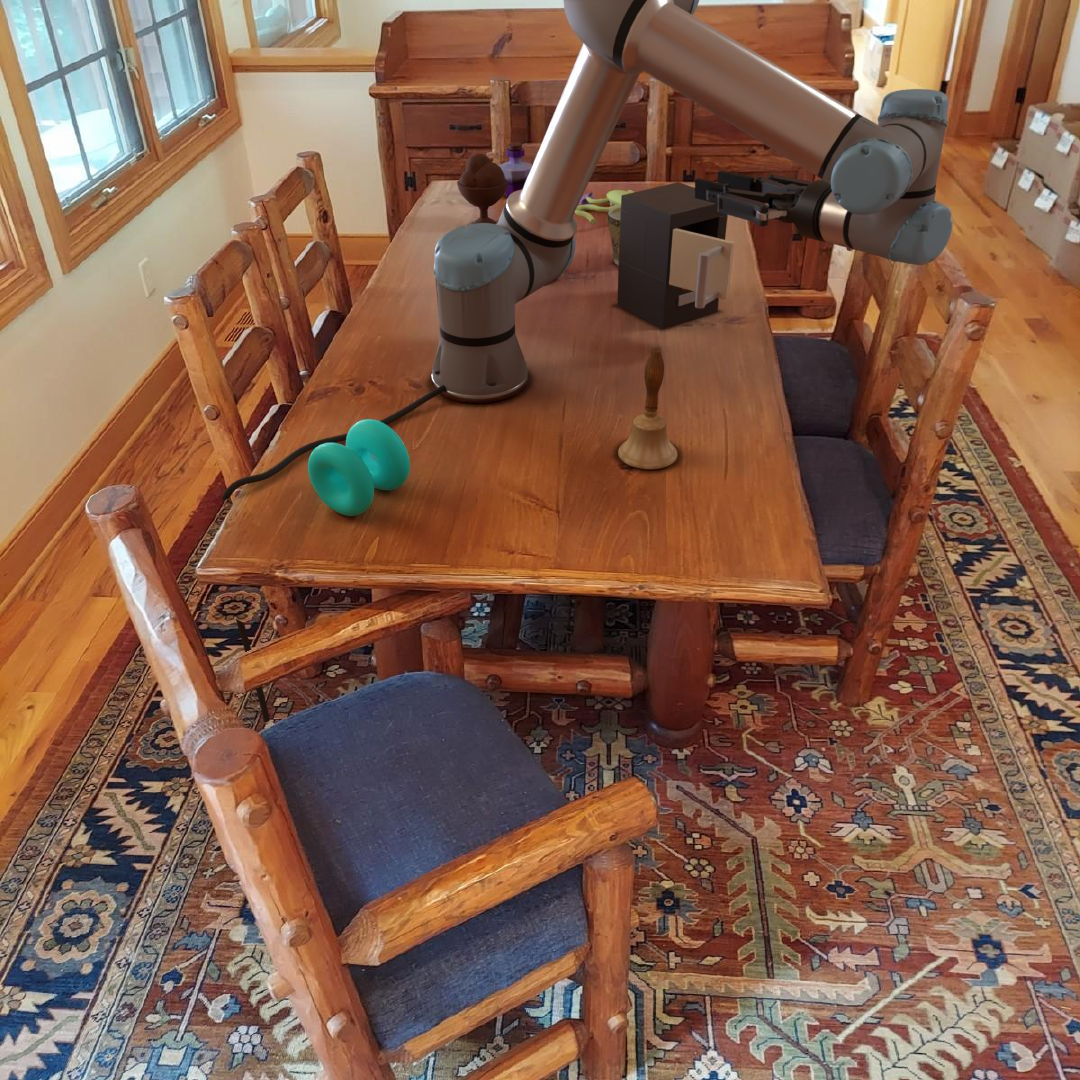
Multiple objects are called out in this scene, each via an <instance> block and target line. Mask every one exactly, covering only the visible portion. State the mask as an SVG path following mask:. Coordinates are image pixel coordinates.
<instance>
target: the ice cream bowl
mask: <svg viewBox="0 0 1080 1080" xmlns="http://www.w3.org/2000/svg"><path fill="white" fill-rule="evenodd" d="M498 165H499V164H497V163H496V162H493V161H491V159H490V158H489V156H487V155H486V154H485V153H479V152H477V153H474V154H472V155H470V156H469V157H468V159H467V160H466V163H465V171H463V172H462V173H461V175H460V177H459V180H457V182H456V184H457V189H458V191H459V193H460V195H461V196H462V197H463V198H464V200H466V201H467V203H469V204H470V205H472V206H474V207H476V208H478V210H479V217H478V218H477V219H476V220H474V221H473V222H472V223H471V224H475V223H490V224H497V221H495V220H494V219H493V218H491V217H489V212H488V210H489V208H490V207H492V206H494V205H496V204H497V203H498V202H499V201H500V200H501V199H502V198H503V197H504V195H506V193H505V192H506V190H507V185H508V181H507V180H506V179H505V176H504V173H503V171H502V169H501V167H500V166H498Z"/></svg>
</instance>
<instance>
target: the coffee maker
mask: <svg viewBox="0 0 1080 1080" xmlns="http://www.w3.org/2000/svg"><path fill="white" fill-rule="evenodd" d="M728 217H729V215H727V214H723V213H720V212H718V204H717V203H713V202H709V201H705V200H701V199H697V198H695V186H691V185H688V184H685V183H683V182H680V181H676V182H673V183H669V184H664V185H660V186H656V187H652V188H646V189H642V190H638V191H634V193H629V194H625V195H622V196H621V218H620V243H619V266H618V270H617V271H618V272H617V299H616V306H617V307H619V308H621V309H623V310H625V311H627V312H629V313H631V314H633V315H635V316H637V317H639V318H640V319H643V320H644V321H646V322H648V323H650V324H652V325H654V326H655V327H658V328H660V329H662V330H665V329H668V328H672V327H674V326H678V325H680V324H683V323H686V322H690V321H693V320H696V319H699V318H703V317H706V316H708V315H712V314H715V313H718V311H719V302H720V298H716V299H714V300H712V301H711V302H709V303H707V304H706V305H705V307H704V308H696V307H695V298H696V292H695V291H691V290H687V289H684V288H680V287H677V286H673V285H669V279H670V265H671V252H672V238H673V229H675V228H677V229H681V230H685V231H689V232H694V233H698V234H702V235H706V236H710V237H715V238H719V239H723V240H726V236H727V234H726V233H727V227H728Z"/></svg>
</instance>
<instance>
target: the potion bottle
mask: <svg viewBox="0 0 1080 1080" xmlns="http://www.w3.org/2000/svg"><path fill="white" fill-rule="evenodd" d="M505 152H506V157H507V158H509V161H505V162H503V163H501V164H500V163H499V164H497V165H498V166H500V167H501V169H502V171H503V173H504V176H505V179H506V180H507V181H508V185H507V190H506V192H505V194H504V195H505V198H506V199H508V197H509V195H510V194H511V193H513V192H515V191H518V190H522V189H523V187H524V185H525V182H526V180H527V177H528V175H529V173H530V170H531V168H532V165H533V163H530V162H526V161H523V160H522V159H523V157H525V156H526V155H525V149H524V147H523V145H522V142H510V143H508V148H506V149H505Z"/></svg>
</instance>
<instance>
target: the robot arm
mask: <svg viewBox="0 0 1080 1080" xmlns="http://www.w3.org/2000/svg"><path fill="white" fill-rule="evenodd" d="M699 3H700V0H563V9H564V13H565V17H566V20H567V22H568V25H569V27H570V28H571V30H572V31H573V33H574V34H575V36H576V37H577V38H578V39H579V40H580V41H581V42H582V45H581V48H580V50H579V53H578V55H577V57H576V60H575V62H574V65H573V67H572V69H571V72H570V74H569V77H568V79H567V82H566V84H565V86H564V88H563V91H562V93H561V96H560V98H559V101H558V103H557V106H556V108H555V110H554V112H553V115H552V117H551V120H550V122H549V125H548V127H547V129H546V132H545V134H544V136H543V139H542V142H541V143H540V146H539V149H538V151H537V153H536V155H535V158H534V161H533V163H532V168H531V170H530V173H529V175H528V177H527V180H526V182H525V185H524V187H523V189H522V190H518V191H515V192H513V193H511V194H510V195H509V197H508V198H506V202H505V204H504V206H503V209H502V211H501V213H500V215H499V218H498V221H497V222H496V224H490V223H475V224H472V223H470V224H469V225H467V226H465V225H460V226H458V227H455V228H453V229H450V230H449V231H447V232H445V233H444V234H443V235H442V236H441V237H440V238H439V239H438V241H437V242H436V244H435V248H434V264H433V274H434V278H435V288H436V289H435V290H436V300H437V302H436V303H437V312H438V324H439V336H440V337H439V341H438V345H437V349H436V352H435V356H434V360H433V365H432V369H431V382H432V383H431V384H432V387H433V390H431V391H429V392H428V393H426V394H425V395H423V396H421V397H419V398H418V399H416V400H415V401H413V402H412V403H410V404H408V405H407V406H405V407H403V408H402V409H400V410H397V411H396V412H393V413H392V414H390V415H389V416H386V417H385V418H383V419H381V420H379V421H380V422H382V423H384V424H386V425H387V426H388V425H389V424H391V423H393V422H395V421H397V420H398V419H401V418H402V417H404V416H406V415H407V414H409V413H410V412H413V411H414V410H415V409H417V408H419V407H420V406H422V405H424V404H426V403H427V402H429V401H430V400H432V399H434V398H436V397H437V396H439V395H440V396H442V397H444V398H447V399H449V400H451V401H455V402H460V403H467V404H485V403H494V402H498V401H502V400H506V399H509V398H512V397H514V396H515V395H517V394H520V393H521V392H522V391H523V390H524V389H525V388H526V387H527V385H528V382H529V370H528V364H527V362H526V360H525V357H524V356H525V355H524V354H523V353H524V352H523V351H522V348H521V345H520V343H519V340H518V337H517V334H516V308H515V307H516V304H518V303H520V302H521V301H522V300H524V299H526V298H527V297H530V295H532V294H533V293H535V292H537V291H538V290H540V289H542V288H543V287H547V286H548V285H550V284H552V283H554V282H555V281H556V280H557V279H558V278H560V277H561V276H562V275H563V274H564V273H565V272H566V271H567V270H568V267H570V265H571V264H572V262H573V258H574V256H575V252H576V239H574V237H575V236H576V233H577V230H578V223H577V220H576V218H575V216H574V214H575V210H576V208H577V206H579V205H580V204H579V202H580V199H581V198H582V197H583V196H584V194H585V191H586V189H587V187H588V185H589V182H590V180H591V179H592V176H593V174H594V172H595V170H596V167H597V166H598V163H599V161H600V160H601V158H602V155H603V153H604V151H605V149H606V146H607V145H608V143H609V140H610V138H611V136H612V135H613V132H614V130H615V127H616V125H617V123H618V122H619V120H620V117H621V115H622V113H623V111H624V109H625V107H626V105H627V102H628V101H629V98H630V96H631V94H632V92H633V90H634V88H635V86H636V84H637V81H638V80H639V77H640V75H641V74H642V73H646V74H647V75H649V76H651V77H653V78H654V79H656V80H657V81H659V82H661V83H662V84H664V85H666V86H667V87H668V88H671V89H672V90H674V91H675V92H678V93H679V94H681V95H682V96H684V97H685V98H687V99H689V100H690V101H691V102H693V103H695V104H697V105H699V106H700V107H702V108H704V109H705V110H707V111H709V112H710V113H712V114H714V115H715V116H717V117H718V118H720V119H722V120H724V121H725V122H727V123H728V124H730V125H732V126H733V127H735V128H737V130H740V131H742V132H743V133H745V134H747V135H748V136H750V137H751V138H753V139H754V140H756V141H758V142H760V143H761V144H763V145H765V146H766V147H768V148H770V149H771V150H773V151H774V152H776V153H778V155H779V154H780V155H781V156H783V157H784V158H786V159H787V160H790V161H791V162H793V163H794V164H796V165H797V166H799V167H801V168H802V169H804V170H806V171H807V172H809V173H811V174H812V175H814V176H816V177H817V178H819V179H816V180H814V181H811V180H810V181H809V180H804V179H800V178H795V177H789V176H784V175H778V174H773V173H772V174H769V175H767V178H766V177H764V176H758V177H754V176H749V175H745V174H741V173H740V174H739V173H736V172H735V173H734V172H731V171H726V170H722V169H721V170H719V171H717V181H713V180H708V179H704V178H700V177H698V178H695V179H694V188H695V198H697V199H701V200H705V201H709V202H713V203H717V204H718V212H720V213H723V214H727V215H728V216H731V217H733V218H734V217H735V218H738V219H741V220H745V221H749V222H753V223H754V224H756V225H757V226H759V227H767V226H768V225H769V220H776V221H777V220H778V221H780V222H781V223H785V224H786V223H787V224H793V225H794V227H795V229H796V230H797V232H798V233H799V235H801V236H802V237H804V238H807V239H810V240H814V241H818V242H822V243H825V242H826V243H828V244H831V245H836V246H839V247H844V248H845V249H846V251H848V252H851V251H859V252H863V253H866V254H870V255H873V256H876V257H880V258H884V259H887V260H889V261H891V262H895V263H902V264H908V265H915V266H924V265H928V264H930V263H932V262H933V261H935V260H936V259H937V258H938V257H939V256H940V255H941V254H942V252H943V251H944V250H945V248H946V247H947V245H948V244H949V243H948V242H949V240H950V238H951V235H952V230H953V219H952V211H951V209H950V208H949V207H948V206H947V204H946V205H945V204H943V203H941V202H940V201H937V200H936V199H935V198H936V193H937V190H936V188H937V181H938V175H939V174H938V173H939V169H940V162H941V158H942V157H941V156H942V151H943V146H944V140H945V134H946V130H947V129H946V128H948V125H949V123H948V112H949V111H948V110H949V103H950V101H949V98H948V95H946V93H944V92H943V91H939V90H935V89H928V88H910V89H909V88H907V89H899V90H895V91H891V92H889V93H887V94H886V95H885V96H884V97H883V98H882V101H881V106H880V110H879V115H878V117H877V123H876V122H874V121H873V120H871V119H869V118H867V117H865V116H863V115H861V114H860V113H859V112H858V111H856V110H854V109H852V108H851V107H849V106H847V105H845V104H844V103H842V102H841V101H839V100H837V99H835V98H833V97H832V96H830V95H829V94H827V93H825V92H823V91H822V90H820V89H819V88H817V87H815V86H813V85H812V84H810V83H809V82H807V81H805V80H803V79H801V78H800V77H799V76H796V75H794V74H793V73H791V72H790V71H788V70H786V69H785V68H783V67H781V66H779V65H778V64H776V63H775V62H773V61H771V60H769V59H768V58H766V57H765V56H763V55H761V54H759V53H757V51H754V50H753V49H751V48H750V47H747V46H746V45H744V44H742V43H741V42H739V41H738V40H735V39H734V38H732V37H730V36H728V35H727V34H725V33H723V31H720V30H719V29H717V28H715V27H714V26H712V25H710V24H709V23H707V22H705V21H703V20H702V19H700V18H699V17H696V16H695V15H694V14H695V12H696V10H697V8H698V6H699ZM347 434H348V432H347V433H343V434H338V435H334V436H330V437H326V438H321V439H318V440H315V441H312V442H309V443H307V444H305V445H302V446H300V447H299V448H297V449H295V450H293V451H292V452H290V453H289V454H288V455H287V456H285V457H284V458H283V459H281V461H280V462H278V463H277V464H276V465H274V466H273V467H271V468H269V469H268V470H266V471H264V472H261V473H258V474H253V475H249V476H244V477H242V478H241V477H240V478H239V479H237V480H235V481H233V482H232V483H231V484H230V485H228V487H227V488H226V489H225V491H224V492H223V493H222V496H221V500H222V501H226V500H229V499H230V498H231V497H232V495H233V494H234V492H235V491H236V490H238V489H239V488H240V487H243V486H245V485H249V484H253V483H259V482H262V481H264V480H267V479H270V478H271V477H273V476H275V475H277V474H278V473H280V472H281V471H282V470H284V469H285V468H286V467H287V466H288V465H290V464H291V463H292V462H293V461H295V460H296V459H297V458H299V457H300V456H302V455H304V454H306V453H307V452H310V451H313V450H314V449H315V448H316V447H318V446H319V445H321V444H324V443H341V442H346V438H347ZM235 621H236V625H237V629H238V632H239V636H240V639H241V640H240V641H241V643H242V646H243V650H244V653H245V652H247V651H249V650H252V646H251V643H250V639H249V636H248V632H247V628H246V625H245V622H243V621H242V620H239V619H238V618H235ZM252 651H253V650H252ZM255 692H256V695H257V699H258V703H259V707H260V711H261V714H262V719H263V722H264V723H269V722H270V721H271V717H270V712H269V708H268V704H267V701H266V696H265V693H264V688H263V685H262V686H261V687H259V688H255Z"/></svg>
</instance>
